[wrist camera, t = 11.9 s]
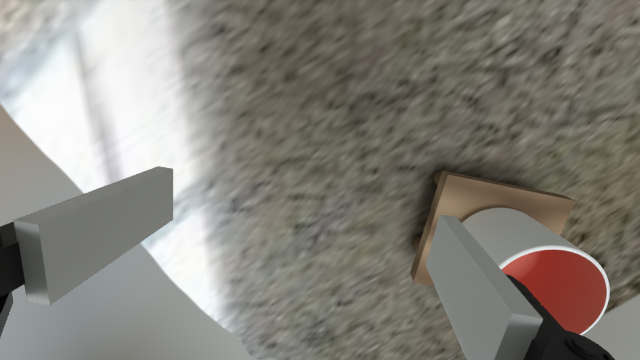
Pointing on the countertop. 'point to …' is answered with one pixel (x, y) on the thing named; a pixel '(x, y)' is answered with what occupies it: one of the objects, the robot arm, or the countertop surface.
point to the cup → (544, 265)
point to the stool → (480, 194)
